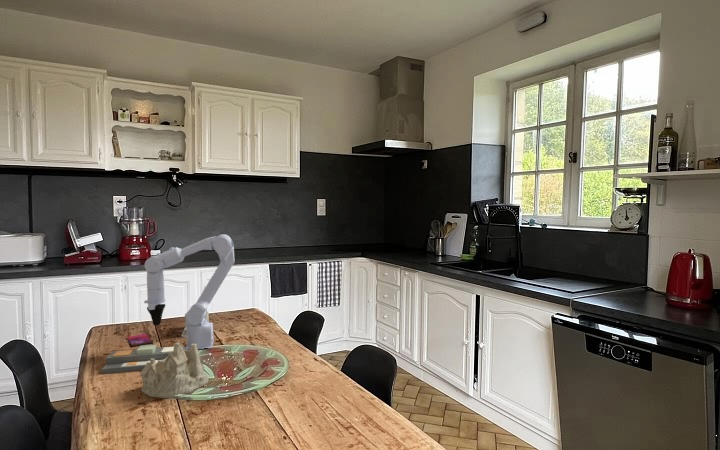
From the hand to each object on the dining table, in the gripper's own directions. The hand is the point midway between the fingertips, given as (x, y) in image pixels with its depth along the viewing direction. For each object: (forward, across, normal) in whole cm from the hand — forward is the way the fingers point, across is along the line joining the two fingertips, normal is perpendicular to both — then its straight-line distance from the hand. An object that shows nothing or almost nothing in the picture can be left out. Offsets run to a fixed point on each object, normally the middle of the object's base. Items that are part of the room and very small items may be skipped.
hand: (157, 324), depth 163 cm
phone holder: (+10, -23, +10) cm, 27 cm away
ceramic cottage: (+10, +37, +13) cm, 41 cm away
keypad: (+9, +13, 0) cm, 16 cm away
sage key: (+6, +13, -1) cm, 14 cm away
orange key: (+8, +13, -8) cm, 17 cm away
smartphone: (+10, -14, -10) cm, 20 cm away
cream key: (+8, +13, +7) cm, 17 cm away
